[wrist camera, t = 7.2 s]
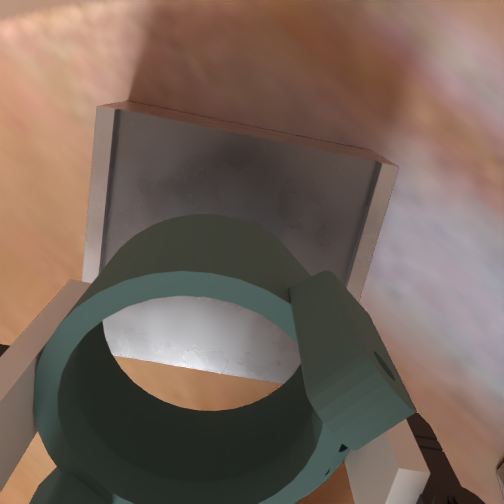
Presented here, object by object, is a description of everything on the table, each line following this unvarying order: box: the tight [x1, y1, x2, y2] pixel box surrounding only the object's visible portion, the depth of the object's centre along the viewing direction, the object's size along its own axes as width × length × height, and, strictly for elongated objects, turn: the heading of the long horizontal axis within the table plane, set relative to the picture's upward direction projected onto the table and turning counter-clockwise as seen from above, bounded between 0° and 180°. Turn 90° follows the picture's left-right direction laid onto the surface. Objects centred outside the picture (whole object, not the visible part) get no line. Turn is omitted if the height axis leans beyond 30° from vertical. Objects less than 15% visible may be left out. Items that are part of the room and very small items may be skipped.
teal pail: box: [29, 214, 417, 504], centre depth 13 cm, size 9×9×9 cm
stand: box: [82, 101, 399, 384], centre depth 27 cm, size 13×14×6 cm
